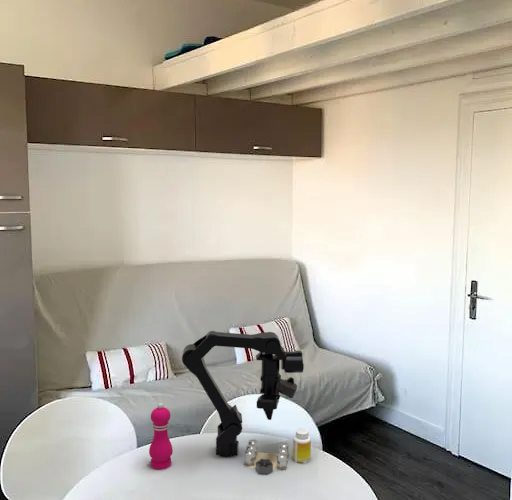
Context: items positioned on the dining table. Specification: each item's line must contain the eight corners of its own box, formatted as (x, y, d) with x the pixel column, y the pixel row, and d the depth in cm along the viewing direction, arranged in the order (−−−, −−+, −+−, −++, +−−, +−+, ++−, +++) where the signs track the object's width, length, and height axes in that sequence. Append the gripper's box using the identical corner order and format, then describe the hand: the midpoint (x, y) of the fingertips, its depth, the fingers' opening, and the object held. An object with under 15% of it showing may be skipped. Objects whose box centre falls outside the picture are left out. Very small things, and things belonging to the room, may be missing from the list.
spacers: (243, 466, 177) (243, 454, 177) (249, 450, 188) (249, 439, 187) (286, 470, 175) (286, 457, 175) (289, 454, 186) (289, 442, 185)
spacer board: (241, 476, 173) (241, 473, 173) (248, 454, 187) (248, 451, 187) (284, 480, 172) (284, 477, 171) (288, 457, 185) (288, 454, 185)
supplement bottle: (313, 462, 182) (314, 431, 181) (301, 468, 179) (302, 436, 178) (301, 456, 187) (302, 425, 185) (289, 461, 183) (289, 430, 182)
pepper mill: (144, 467, 178) (143, 405, 176) (157, 457, 185) (156, 397, 182) (165, 472, 175) (164, 409, 173) (177, 461, 182) (176, 400, 179)
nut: (254, 474, 173) (254, 466, 173) (257, 466, 178) (257, 458, 177) (271, 475, 172) (271, 467, 172) (273, 467, 177) (273, 459, 176)
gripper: (293, 384, 173) (292, 434, 175) (297, 364, 192) (296, 409, 194) (256, 382, 175) (256, 431, 177) (264, 362, 193) (263, 407, 195)
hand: (269, 419), depth 186 cm, fingers closed
